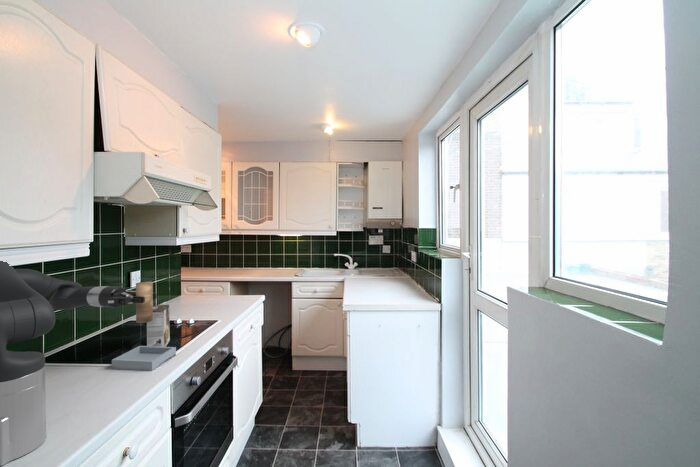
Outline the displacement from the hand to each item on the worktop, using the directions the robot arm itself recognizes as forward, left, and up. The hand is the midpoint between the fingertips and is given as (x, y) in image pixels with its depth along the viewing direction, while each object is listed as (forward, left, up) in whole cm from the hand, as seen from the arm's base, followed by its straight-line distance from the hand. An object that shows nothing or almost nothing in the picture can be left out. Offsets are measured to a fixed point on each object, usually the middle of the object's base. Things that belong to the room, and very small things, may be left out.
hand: (150, 297), depth 104 cm
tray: (0, +2, -24) cm, 24 cm away
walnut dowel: (0, +2, -8) cm, 9 cm away
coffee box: (+14, +8, -24) cm, 29 cm away
